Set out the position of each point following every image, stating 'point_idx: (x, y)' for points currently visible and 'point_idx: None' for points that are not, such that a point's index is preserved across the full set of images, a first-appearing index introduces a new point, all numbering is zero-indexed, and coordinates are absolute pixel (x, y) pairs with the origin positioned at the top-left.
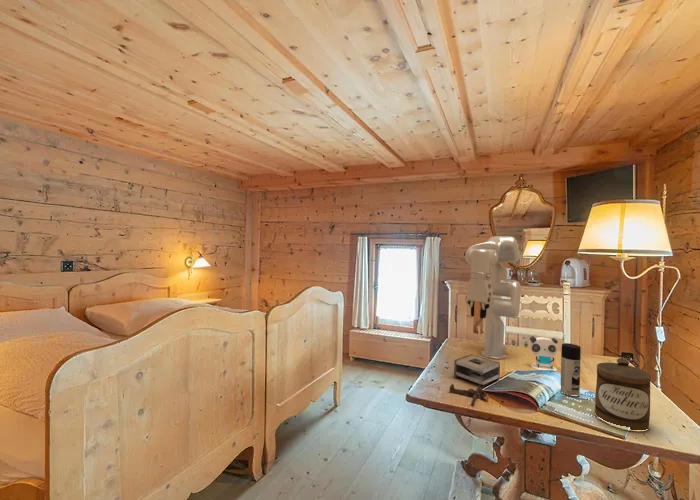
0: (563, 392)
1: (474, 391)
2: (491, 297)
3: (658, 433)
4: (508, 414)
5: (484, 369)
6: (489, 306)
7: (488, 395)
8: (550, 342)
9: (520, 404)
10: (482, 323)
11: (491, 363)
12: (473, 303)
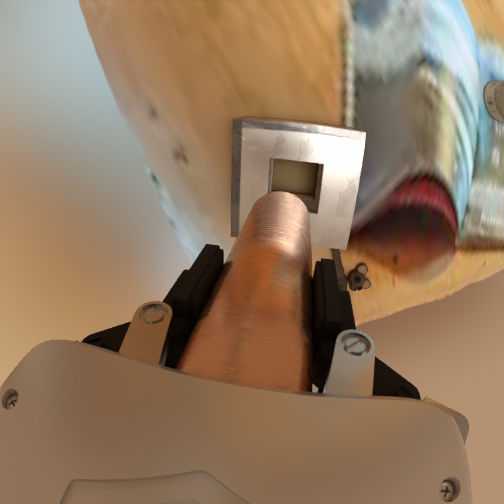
0: (493, 116)
1: (339, 289)
2: (450, 494)
3: None
4: (411, 301)
5: (346, 245)
6: (404, 388)
7: (367, 269)
8: None
9: (428, 245)
10: (311, 253)
11: (344, 166)
12: (138, 346)
